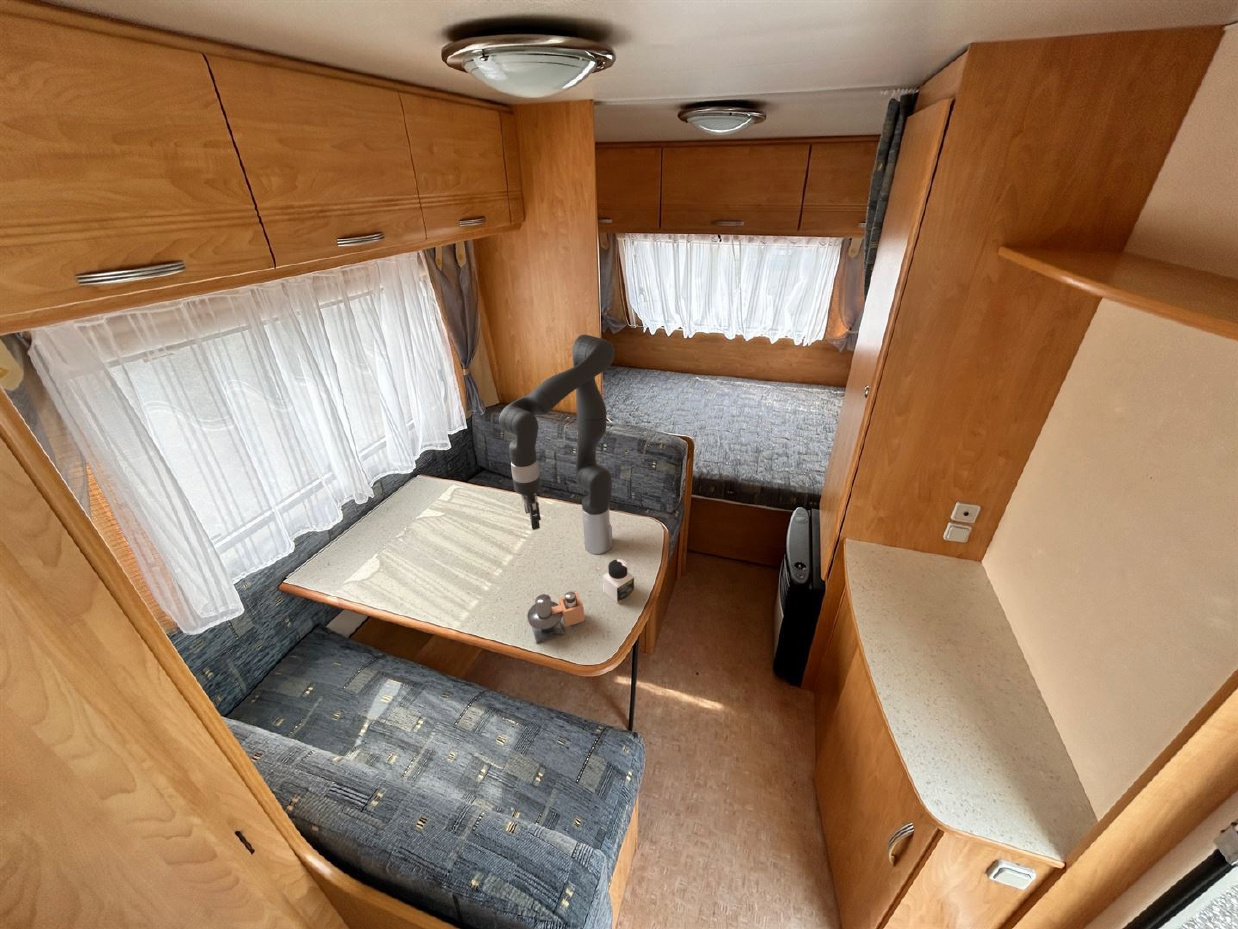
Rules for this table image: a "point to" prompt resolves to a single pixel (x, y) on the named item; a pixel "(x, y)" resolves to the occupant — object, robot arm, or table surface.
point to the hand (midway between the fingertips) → (532, 520)
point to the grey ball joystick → (544, 619)
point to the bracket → (570, 611)
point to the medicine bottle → (618, 581)
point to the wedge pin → (570, 601)
